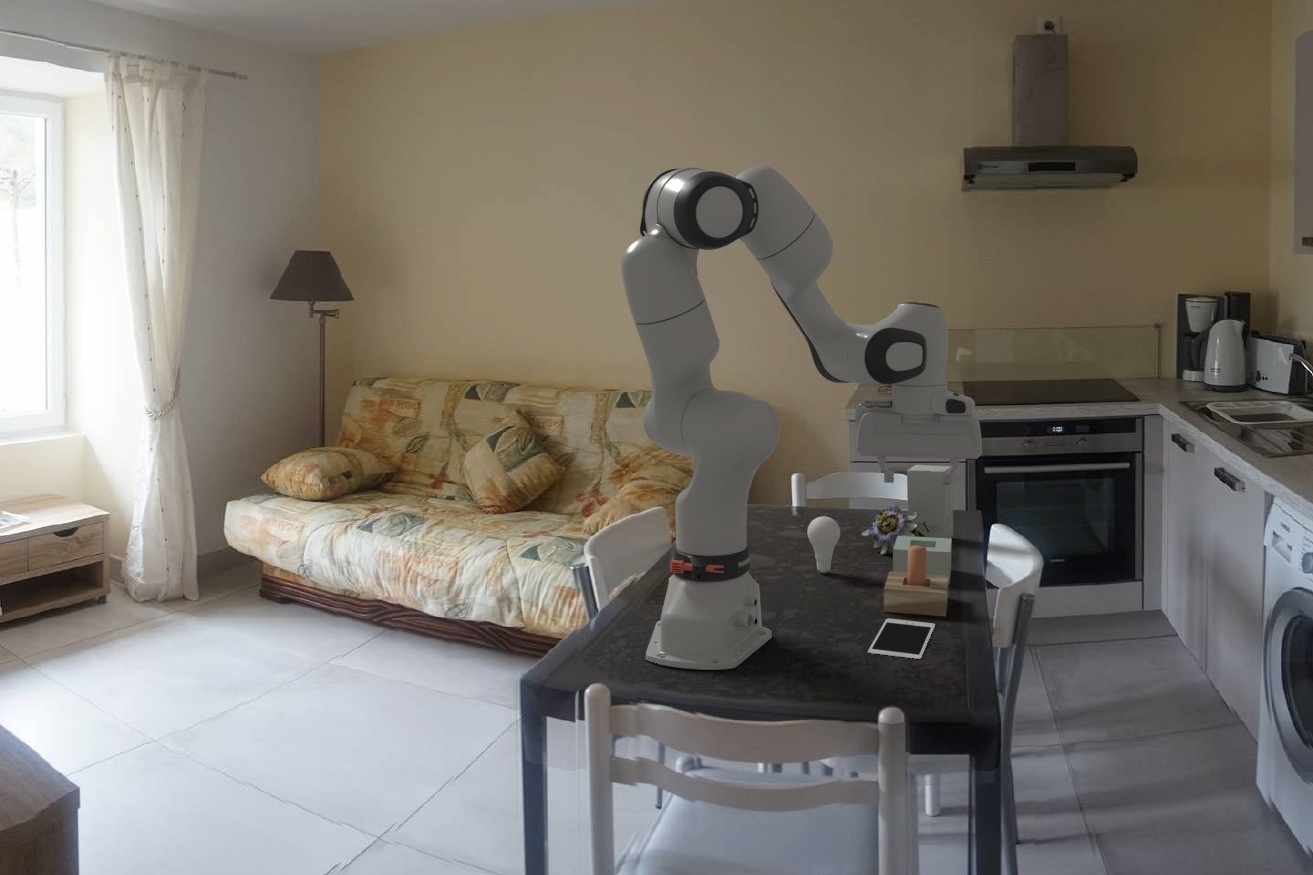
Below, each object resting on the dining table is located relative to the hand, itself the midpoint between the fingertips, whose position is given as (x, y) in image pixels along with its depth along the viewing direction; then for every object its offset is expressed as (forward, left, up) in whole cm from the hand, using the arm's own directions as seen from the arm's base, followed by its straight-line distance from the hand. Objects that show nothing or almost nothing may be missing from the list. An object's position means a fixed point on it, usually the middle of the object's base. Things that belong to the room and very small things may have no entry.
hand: (917, 483), depth 166 cm
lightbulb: (+15, +18, -21) cm, 32 cm away
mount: (0, 0, -21) cm, 21 cm away
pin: (0, 0, -21) cm, 21 cm away
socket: (+18, 0, -21) cm, 28 cm away
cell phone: (-17, +1, -22) cm, 28 cm away
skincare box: (+45, 0, -21) cm, 50 cm away
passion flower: (+34, +6, -21) cm, 41 cm away
